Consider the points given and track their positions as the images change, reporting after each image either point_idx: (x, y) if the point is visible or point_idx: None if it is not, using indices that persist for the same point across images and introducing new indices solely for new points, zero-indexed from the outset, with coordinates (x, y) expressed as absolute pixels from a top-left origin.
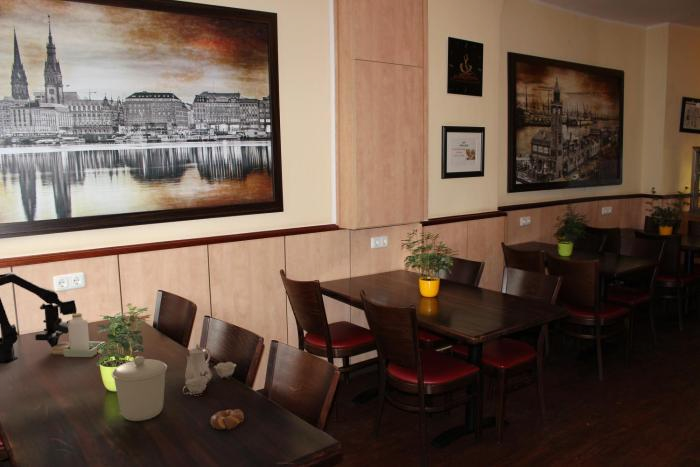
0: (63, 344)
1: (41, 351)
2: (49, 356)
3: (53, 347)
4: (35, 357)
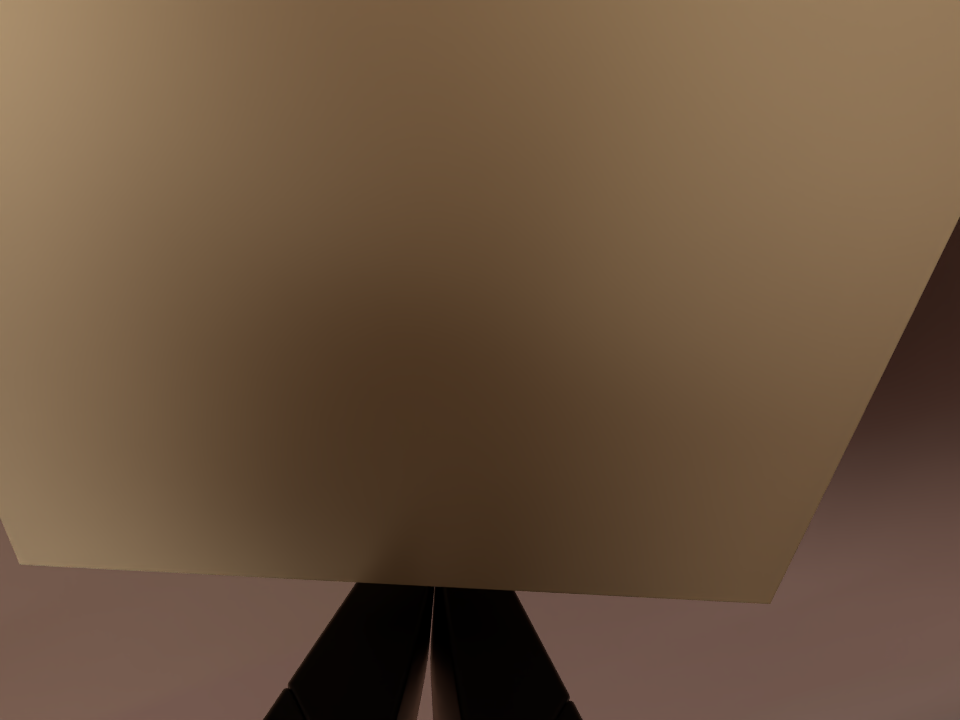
0: (374, 349)
1: (428, 704)
2: (882, 416)
3: (787, 558)
4: (838, 650)
